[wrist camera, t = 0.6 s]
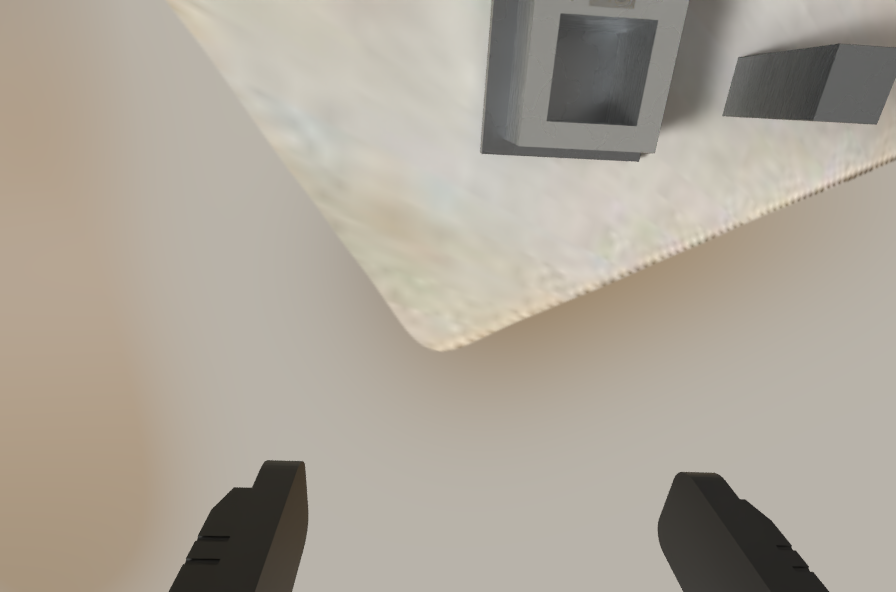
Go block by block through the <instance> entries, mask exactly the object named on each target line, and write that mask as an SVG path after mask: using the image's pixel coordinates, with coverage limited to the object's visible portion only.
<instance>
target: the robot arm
mask: <svg viewBox="0 0 896 592" xmlns="http://www.w3.org/2000/svg"><path fill="white" fill-rule="evenodd" d="M307 528H308V501H307V486H306V473H305V464H304V462H303V461H272V460H271V461H270V460H267V461H265V462H264V464H263V465H262V467H261V469H260V471H259V473H258V476H257V478H256V481H255V482H254V485H253V487H252V488H233V489H232V490H231V491H230V492H229V493H228V494H227V495H226V496H225V497H224V498H223V499H222V500H221V501H220V502H219V503H218V504H217V505H216V506H215V507H214V508H213V509H212V510H211V512H210V514H209V515H208V517H207V520H206V521H205V523H204V525H203V527H202V529H201V531H200V533H199V535H198V539H197V541H195V542H194V545H193V546H192V548H191V550H190V552H189V554H188V556H187V558H186V563H185V564H183V566H182V567H181V569H180V571H179V573H178V575H177V577H176V579H175V581H174V583H173V585H172V586H171V588H170V590H169V592H292V589H293V586H294V582H295V578H296V575H297V571H298V567H299V563H300V560H301V556H302V553H303V549H304V545H305V540H306V535H307ZM658 537H659V542H660V546H661V548H662V551H663V553H664V555H665V557H666V559H667V561H668V563H669V565H670V567H671V569H672V570H673V573H674V574H675V576H676V578H677V580H678V582H679V584H680V586H681V588H682V590H683V592H829V591H828V590H827V589H826V587H825V586H824V585H823V584H822V582H821V581H820V580H819V579H818V578H817V576H816V575H815V574H814V572H810V571H809V569H808V567H809V566H808V565H807V564H806V563H805V561H804V560H803V559H802V558H801V556H800V555H799V554H798V553H797V552H796V551H793V550H792V548H791V546H792V545H791V544H790V543H789V542H788V541H787V539H786V538H785V537H784V536H783V534H782V533H781V532H780V531H779V529H778V528H777V527H776V526H775V524H774V523H773V522H772V521H771V520H770V519H769V518H767V517H766V516H765V515H764V514H762V513H761V512H760V511H759V510H757V509H756V508H755V507H753V505H751V504H750V503H749V502H747V501H746V500H741V499H739V498H738V496H737V495H736V494H735V493H734V491H733V490H732V489H731V487H730V486H729V485H728V484H727V482H726V481H725V480H724V479H723V478H722V477H721V476H720V475H718V474H716V473H699V472H680V473H678V474H677V475H676V476H675V478H674V480H673V483H672V486H671V489H670V491H669V494H668V496H667V499H666V502H665V505H664V507H663V510H662V513H661V515H660V518H659V522H658Z"/></svg>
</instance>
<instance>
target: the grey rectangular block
mask: <svg viewBox="0 0 896 592" xmlns="http://www.w3.org/2000/svg"><path fill="white" fill-rule="evenodd" d="M895 78H896V48H894V47H880V46H865V45H851V44H835V45H827V46H820V47H813V48H806V49H798V50H791V51H784V52H777V53H769V54H762V55H755V56H748V57H740V58H738V61H737V65H736V68H735V72H734V76H733V79H732V83H731V87H730V90H729V94H728V97H727V101H726V105H725V108H724V112H723V116H729V117H746V118H764V119H782V120H801V121H820V122H839V123H858V124H877V122H878V120H879V117H880V115H881V112H882V110H883V108H884V105H885V103H886V100H887V98H888V95H889V93H890V90H891V88H892V85H893V83H894V80H895Z"/></svg>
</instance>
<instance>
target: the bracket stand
mask: <svg viewBox="0 0 896 592" xmlns="http://www.w3.org/2000/svg"><path fill="white" fill-rule="evenodd" d="M688 4H689V0H492V5H491V18H490V31H489V44H488V57H487V70H486V83H485V96H484V109H483V122H482V135H481V148H480V153H482V154H497V155H517V156H537V157H557V158H577V159H597V160H617V161H637V162H639V159H640V155H641V153H655V150H656V146H657V142H658V137H659V133H660V128H661V124H662V119H663V115H664V110H665V106H666V102H667V97H668V93H669V88H670V84H671V79H672V75H673V71H674V66H675V62H676V57H677V53H678V48H679V44H680V39H681V35H682V31H683V26H684V22H685V17H686V13H687V8H688Z"/></svg>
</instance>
